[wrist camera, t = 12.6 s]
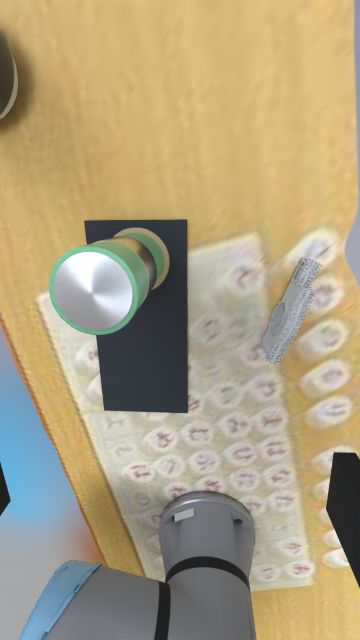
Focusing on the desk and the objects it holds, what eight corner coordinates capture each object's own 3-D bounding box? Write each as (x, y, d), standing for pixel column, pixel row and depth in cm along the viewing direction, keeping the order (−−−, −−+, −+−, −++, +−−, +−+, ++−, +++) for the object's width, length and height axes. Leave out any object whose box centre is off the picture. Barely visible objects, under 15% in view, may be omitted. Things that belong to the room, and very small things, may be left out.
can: (141, 336, 23) (136, 245, 21) (54, 335, 24) (40, 245, 21) (165, 288, 38) (163, 232, 36) (111, 288, 39) (107, 232, 36)
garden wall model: (300, 255, 36) (318, 262, 31) (314, 260, 36) (334, 268, 31) (257, 343, 40) (266, 364, 35) (270, 348, 40) (281, 369, 35)
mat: (187, 411, 44) (187, 413, 44) (104, 408, 45) (104, 410, 45) (186, 219, 36) (186, 219, 35) (85, 220, 37) (84, 220, 36)
